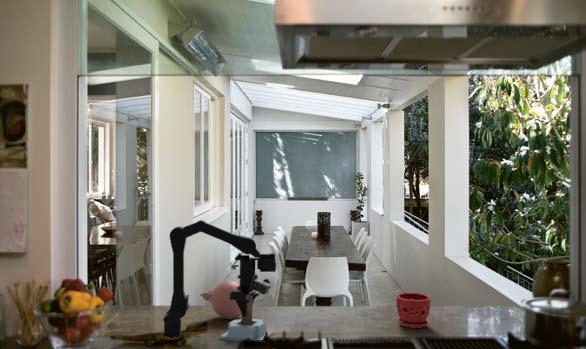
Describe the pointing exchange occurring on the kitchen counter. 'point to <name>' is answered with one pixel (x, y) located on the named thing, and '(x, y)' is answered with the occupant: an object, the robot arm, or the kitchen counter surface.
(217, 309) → the balloon
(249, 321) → the walnut peg
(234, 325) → the socket block
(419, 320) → the plant pot
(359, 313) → the kitchen counter surface
